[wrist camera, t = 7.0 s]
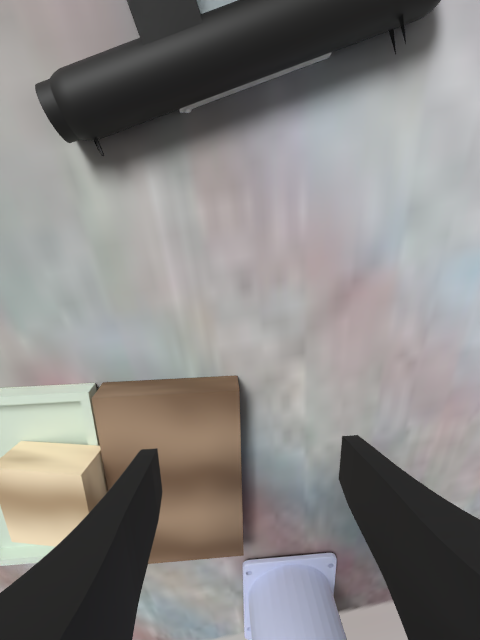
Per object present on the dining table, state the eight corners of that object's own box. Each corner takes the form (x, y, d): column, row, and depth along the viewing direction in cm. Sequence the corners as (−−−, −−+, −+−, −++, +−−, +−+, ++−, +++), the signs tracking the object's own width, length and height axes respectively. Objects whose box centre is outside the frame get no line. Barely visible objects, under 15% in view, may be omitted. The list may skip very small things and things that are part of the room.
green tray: (122, 540, 25) (118, 555, 24) (-9, 551, 24) (-20, 567, 23) (95, 382, 21) (88, 392, 19) (-63, 391, 20) (-80, 401, 19)
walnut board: (241, 530, 25) (243, 555, 23) (129, 539, 25) (121, 566, 23) (237, 375, 21) (239, 390, 19) (103, 382, 21) (91, 398, 19)
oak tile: (116, 516, 22) (96, 550, 20) (39, 509, 23) (11, 541, 20) (103, 445, 20) (80, 474, 18) (21, 440, 21) (-12, 468, 19)
